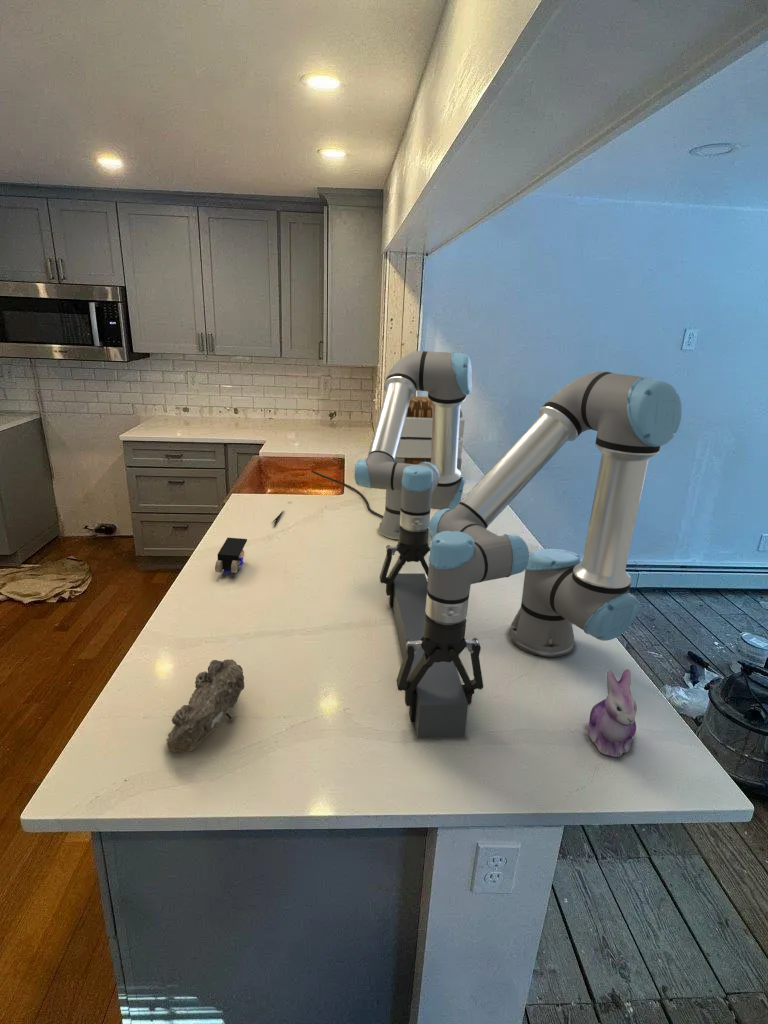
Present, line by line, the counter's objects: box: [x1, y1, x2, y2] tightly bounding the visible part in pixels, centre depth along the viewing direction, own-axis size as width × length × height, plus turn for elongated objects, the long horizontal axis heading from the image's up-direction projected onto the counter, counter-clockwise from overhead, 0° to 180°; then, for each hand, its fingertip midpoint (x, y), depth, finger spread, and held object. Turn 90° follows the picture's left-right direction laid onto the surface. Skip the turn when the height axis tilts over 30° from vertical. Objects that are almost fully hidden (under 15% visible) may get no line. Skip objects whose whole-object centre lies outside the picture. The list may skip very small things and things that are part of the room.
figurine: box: [587, 668, 638, 758], centre depth 104 cm, size 9×10×15 cm
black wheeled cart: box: [214, 537, 248, 578], centre depth 166 cm, size 7×8×15 cm
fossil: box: [166, 658, 245, 754], centre depth 106 cm, size 22×10×15 cm
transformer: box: [395, 395, 465, 472], centre depth 268 cm, size 34×33×41 cm
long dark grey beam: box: [392, 572, 469, 739], centre depth 129 cm, size 54×9×8 cm, turn 5°
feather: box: [271, 509, 284, 527], centre depth 213 cm, size 2×28×2 cm
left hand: (409, 605), depth 151 cm, fingers closed on long dark grey beam, 9 cm apart
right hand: (436, 717), depth 110 cm, fingers closed on long dark grey beam, 9 cm apart
